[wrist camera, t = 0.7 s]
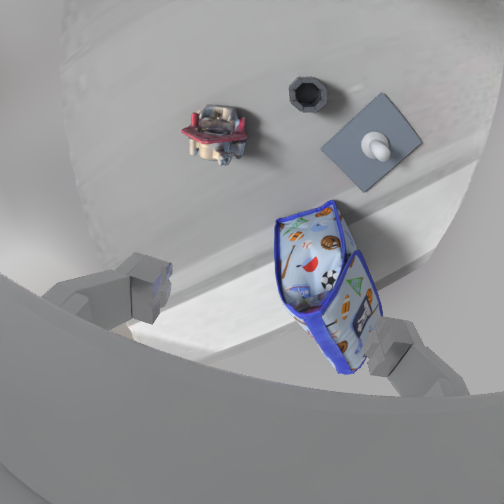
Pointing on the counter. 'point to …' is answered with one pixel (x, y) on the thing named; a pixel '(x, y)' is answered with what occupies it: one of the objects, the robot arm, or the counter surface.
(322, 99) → the hub ring
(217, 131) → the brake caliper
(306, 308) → the lunch bag
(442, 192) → the counter surface
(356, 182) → the post block
